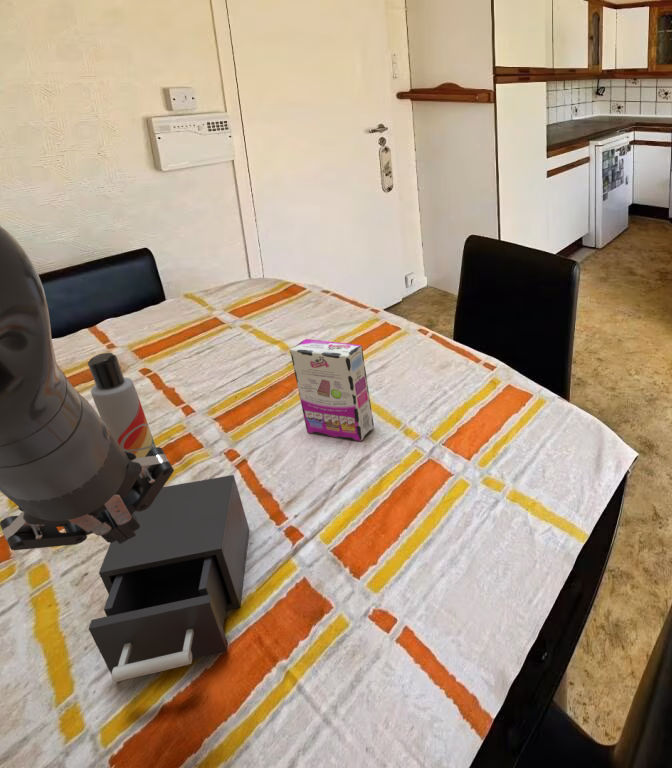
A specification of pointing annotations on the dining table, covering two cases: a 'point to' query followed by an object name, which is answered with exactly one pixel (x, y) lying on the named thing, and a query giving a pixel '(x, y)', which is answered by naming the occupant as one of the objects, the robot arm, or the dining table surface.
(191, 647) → the drawer
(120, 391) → the lotion bottle
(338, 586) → the dining table surface
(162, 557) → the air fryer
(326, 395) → the candy bar box
